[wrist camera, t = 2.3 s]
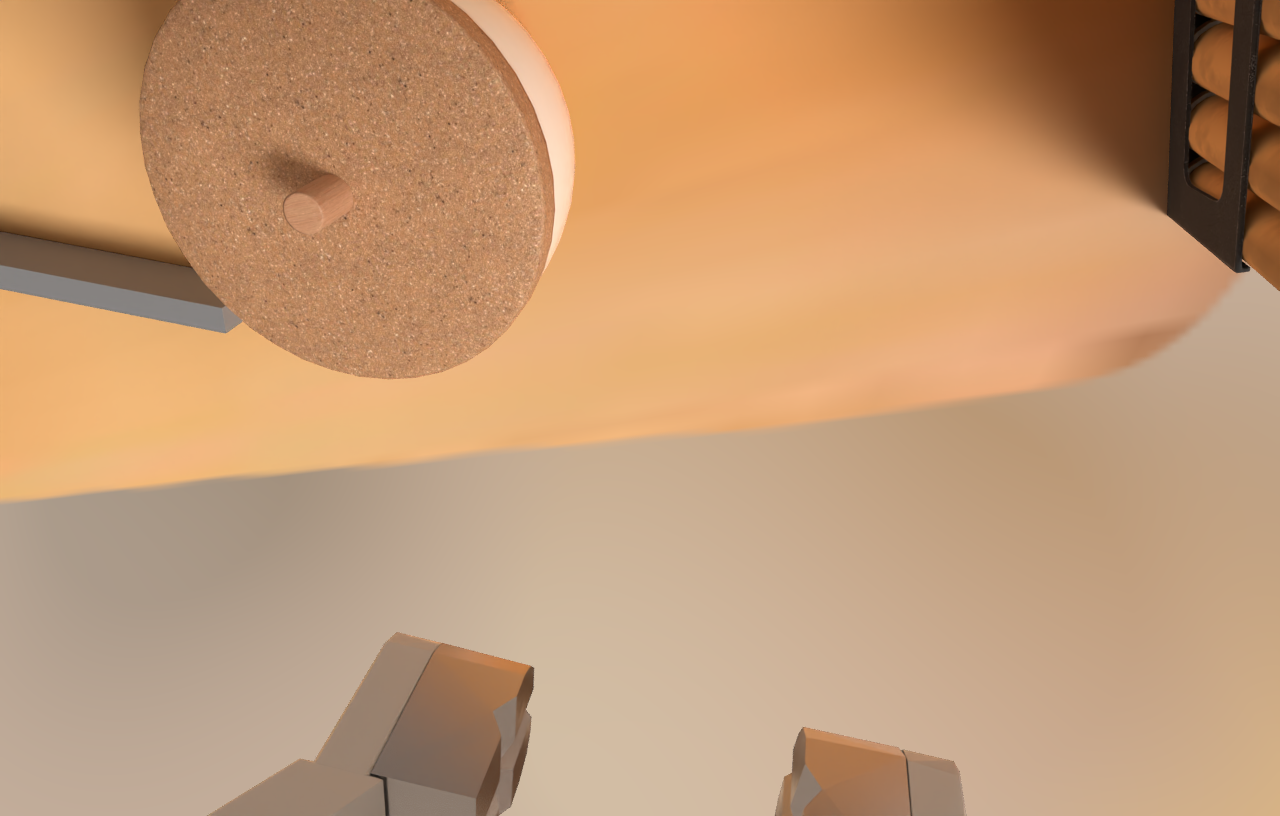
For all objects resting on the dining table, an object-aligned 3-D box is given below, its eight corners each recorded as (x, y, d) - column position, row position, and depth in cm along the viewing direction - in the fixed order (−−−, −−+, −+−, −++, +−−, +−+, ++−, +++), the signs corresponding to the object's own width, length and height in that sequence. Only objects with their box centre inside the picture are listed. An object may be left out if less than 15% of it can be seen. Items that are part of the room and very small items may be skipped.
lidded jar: (241, -16, 27) (-3, 23, 19) (560, -111, 24) (427, -112, 16) (370, 298, 32) (219, 432, 24) (648, 251, 29) (579, 387, 21)
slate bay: (198, -206, 25) (138, -215, 22) (264, 305, 33) (226, 333, 31) (-219, -260, 26) (-312, -273, 24) (-53, 244, 34) (-111, 267, 32)
